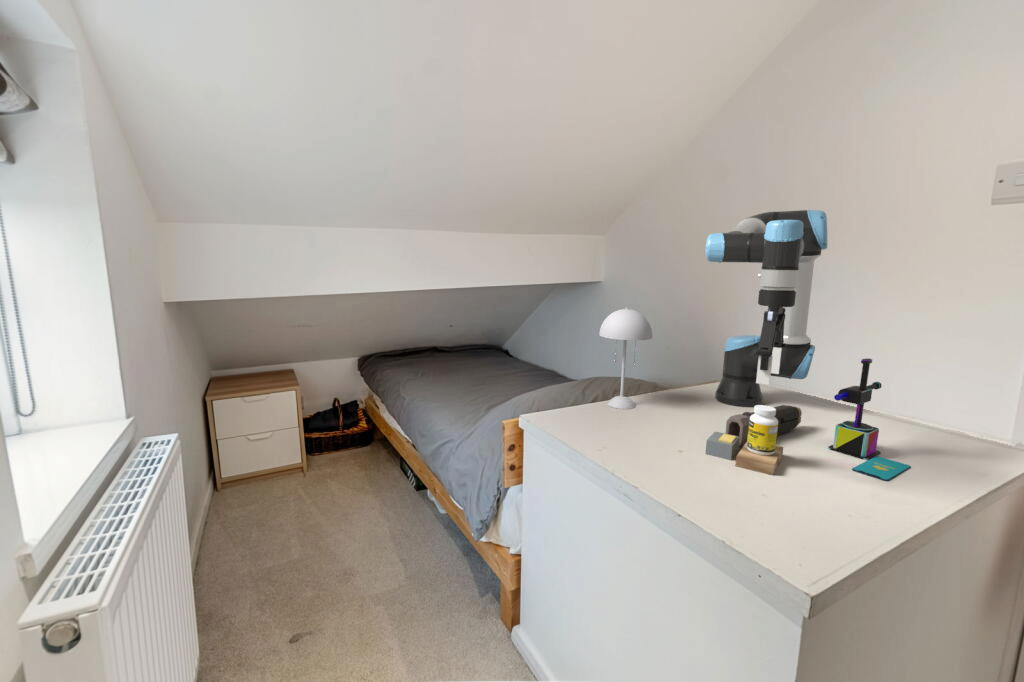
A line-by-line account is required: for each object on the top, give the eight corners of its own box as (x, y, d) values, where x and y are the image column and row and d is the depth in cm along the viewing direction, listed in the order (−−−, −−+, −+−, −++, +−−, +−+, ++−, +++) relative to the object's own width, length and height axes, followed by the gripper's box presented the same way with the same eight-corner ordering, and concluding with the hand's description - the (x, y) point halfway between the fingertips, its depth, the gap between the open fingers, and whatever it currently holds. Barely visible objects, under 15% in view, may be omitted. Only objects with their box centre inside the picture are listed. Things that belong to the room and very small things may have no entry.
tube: (808, 443, 138) (746, 449, 122) (784, 441, 143) (722, 447, 128) (805, 405, 139) (744, 406, 123) (782, 404, 144) (721, 406, 129)
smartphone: (912, 465, 115) (887, 479, 107) (911, 468, 115) (887, 483, 107) (876, 455, 121) (850, 468, 112) (876, 458, 121) (850, 471, 113)
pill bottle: (740, 448, 118) (744, 405, 116) (759, 445, 120) (763, 402, 119) (761, 457, 112) (766, 412, 111) (780, 454, 115) (785, 410, 113)
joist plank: (747, 448, 125) (748, 439, 124) (782, 456, 120) (783, 446, 120) (735, 465, 114) (736, 456, 113) (773, 475, 109) (774, 464, 108)
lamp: (588, 398, 168) (593, 305, 163) (634, 397, 171) (639, 305, 166) (607, 413, 151) (612, 310, 146) (656, 411, 155) (663, 310, 149)
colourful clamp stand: (861, 463, 117) (875, 365, 113) (821, 450, 124) (833, 359, 120) (900, 443, 130) (914, 356, 126) (862, 433, 138) (874, 350, 134)
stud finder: (713, 445, 127) (715, 430, 126) (738, 451, 123) (739, 435, 123) (705, 455, 121) (706, 438, 120) (730, 461, 117) (732, 444, 116)
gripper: (768, 286, 122) (760, 367, 126) (748, 290, 102) (739, 385, 106) (802, 287, 118) (792, 371, 121) (788, 292, 98) (777, 391, 102)
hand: (767, 378), depth 114 cm, fingers open, 13 cm apart
